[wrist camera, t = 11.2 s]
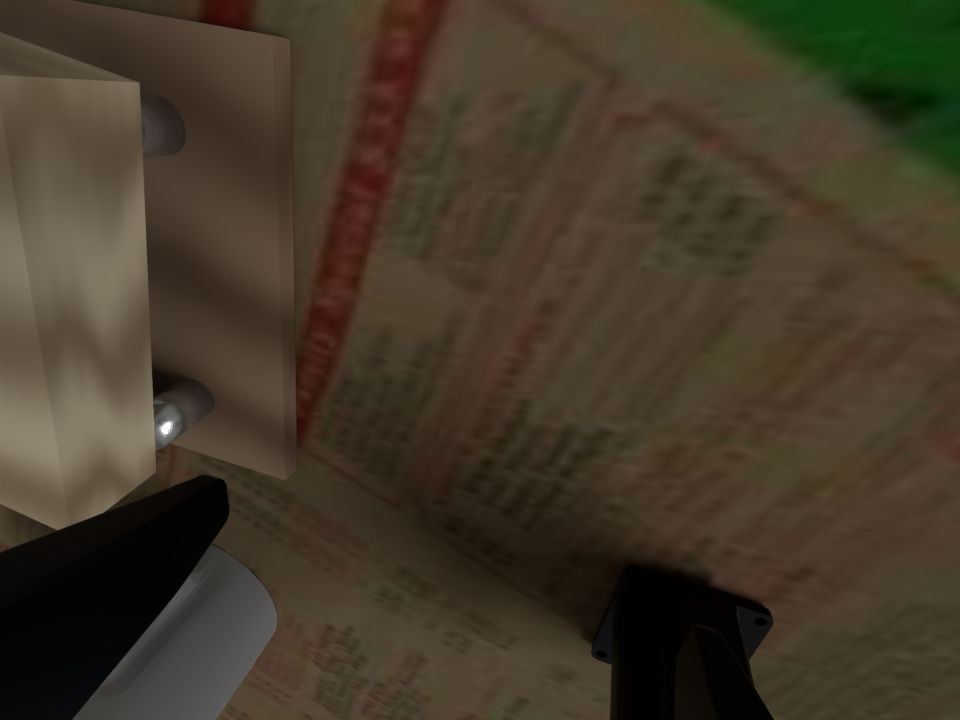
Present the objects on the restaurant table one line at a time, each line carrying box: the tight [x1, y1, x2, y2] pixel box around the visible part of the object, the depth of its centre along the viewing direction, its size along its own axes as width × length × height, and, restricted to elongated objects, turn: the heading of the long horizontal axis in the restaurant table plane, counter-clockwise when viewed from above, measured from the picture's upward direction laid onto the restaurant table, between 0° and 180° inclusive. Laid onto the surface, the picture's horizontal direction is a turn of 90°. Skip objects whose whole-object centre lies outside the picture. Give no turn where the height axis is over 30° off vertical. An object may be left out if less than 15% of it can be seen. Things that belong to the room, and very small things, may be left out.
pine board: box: [0, 32, 156, 530], centre depth 18 cm, size 16×5×4 cm, turn 164°
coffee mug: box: [73, 545, 277, 720], centre depth 28 cm, size 13×10×10 cm
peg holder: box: [0, 0, 297, 481], centre depth 21 cm, size 19×12×4 cm, turn 171°
